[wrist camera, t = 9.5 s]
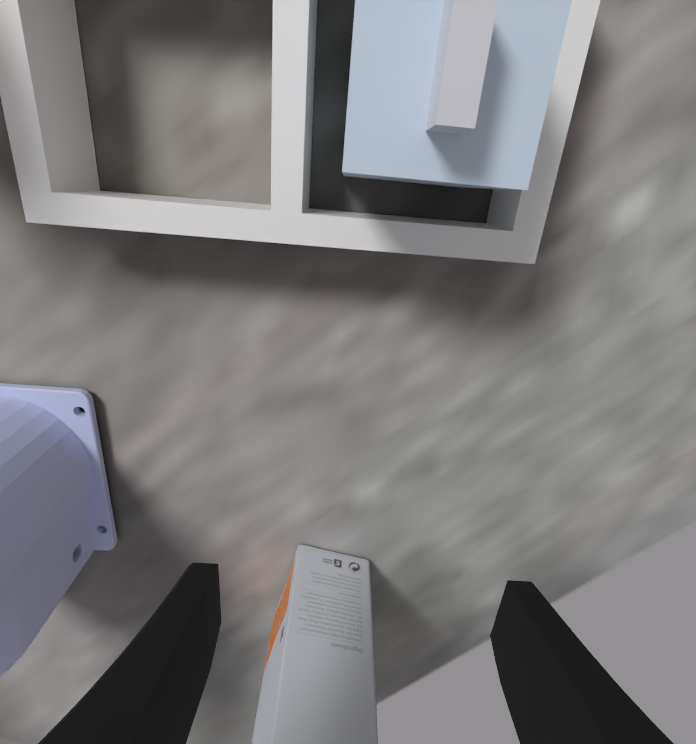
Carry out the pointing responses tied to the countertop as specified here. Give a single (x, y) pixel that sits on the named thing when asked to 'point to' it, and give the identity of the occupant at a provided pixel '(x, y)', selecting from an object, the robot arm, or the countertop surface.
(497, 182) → the plug
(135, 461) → the countertop surface
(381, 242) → the white divided frame
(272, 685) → the skincare box
